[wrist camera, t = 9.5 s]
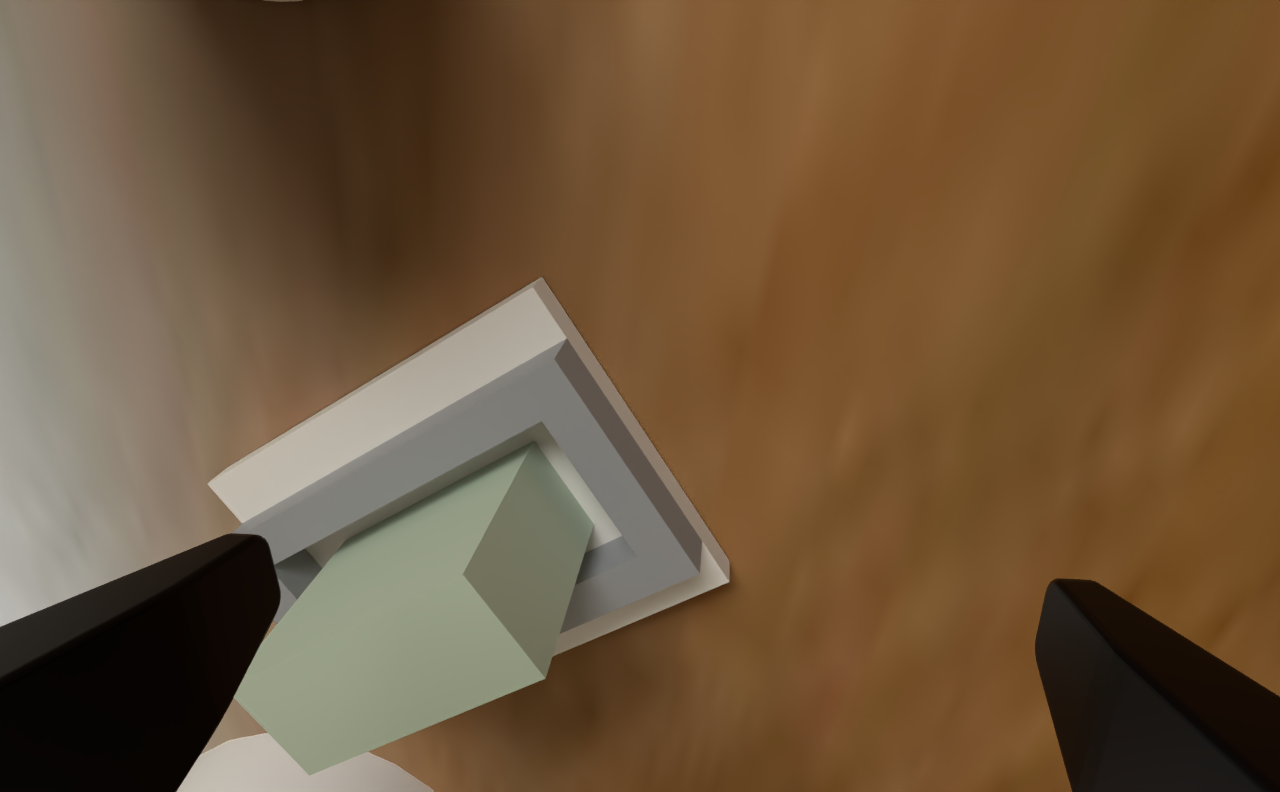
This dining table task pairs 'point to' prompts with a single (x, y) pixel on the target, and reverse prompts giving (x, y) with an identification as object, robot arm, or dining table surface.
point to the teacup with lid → (282, 0)
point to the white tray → (485, 463)
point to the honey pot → (290, 771)
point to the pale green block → (424, 615)
